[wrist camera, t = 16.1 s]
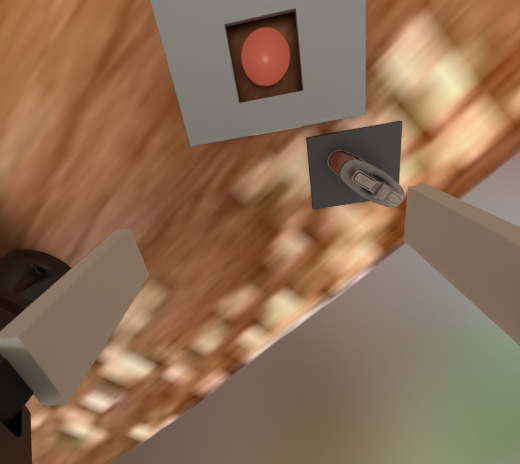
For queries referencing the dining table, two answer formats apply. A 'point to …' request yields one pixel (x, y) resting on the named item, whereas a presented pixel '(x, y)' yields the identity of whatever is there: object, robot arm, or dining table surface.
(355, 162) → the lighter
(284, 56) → the red dome button
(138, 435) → the dining table surface
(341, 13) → the button panel
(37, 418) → the dining table surface
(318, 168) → the mat
